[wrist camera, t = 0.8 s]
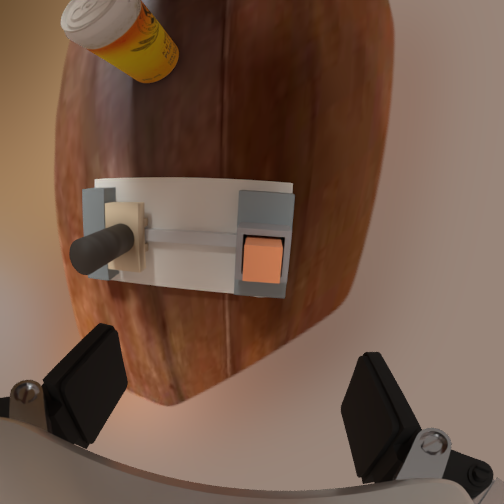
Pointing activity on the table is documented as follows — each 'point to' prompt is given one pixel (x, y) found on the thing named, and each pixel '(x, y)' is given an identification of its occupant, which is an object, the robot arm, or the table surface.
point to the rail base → (198, 229)
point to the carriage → (114, 241)
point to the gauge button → (262, 259)
